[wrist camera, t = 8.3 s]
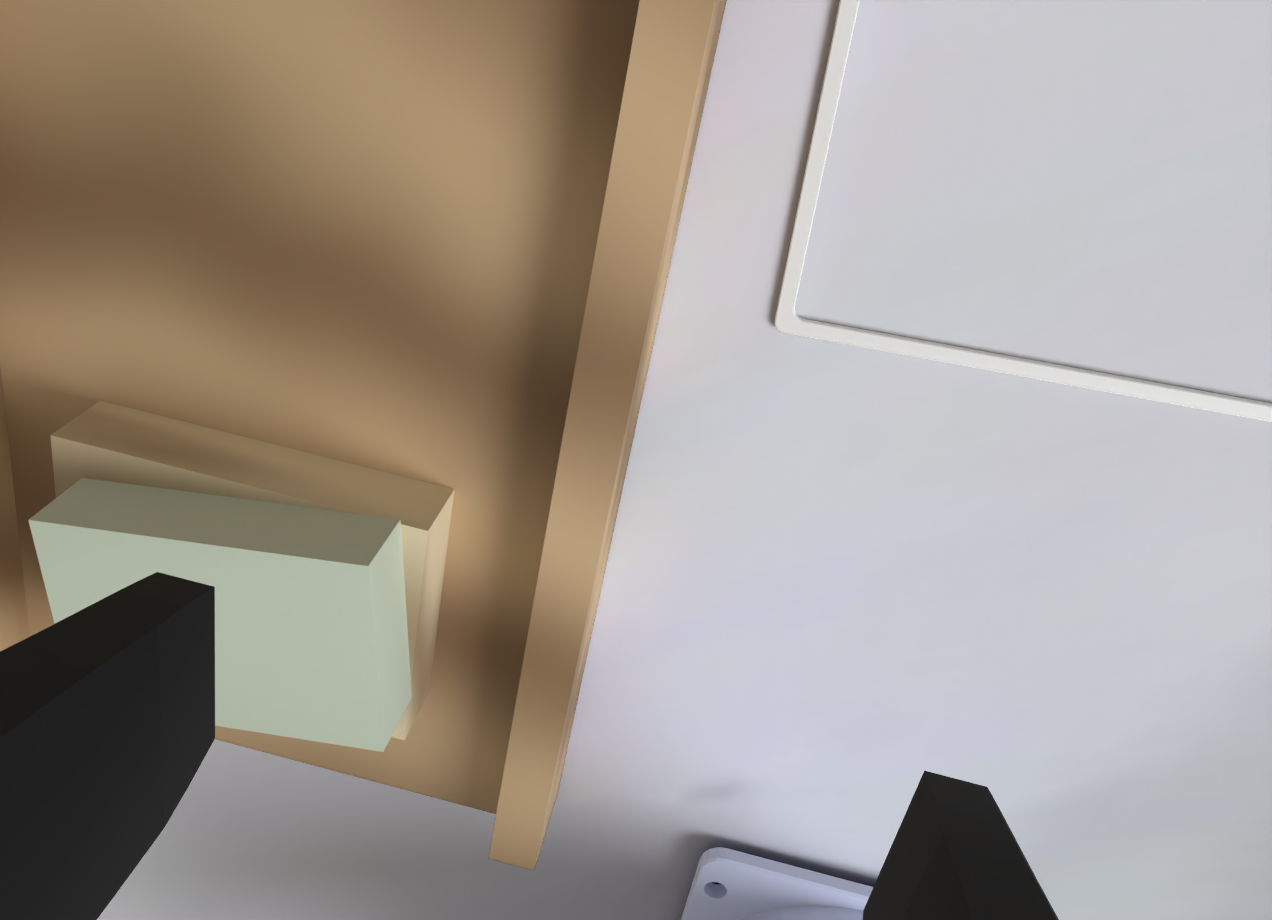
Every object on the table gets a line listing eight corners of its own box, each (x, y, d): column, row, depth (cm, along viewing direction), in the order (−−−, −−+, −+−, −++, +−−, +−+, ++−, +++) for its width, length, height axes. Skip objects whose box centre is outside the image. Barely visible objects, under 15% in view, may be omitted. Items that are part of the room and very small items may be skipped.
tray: (557, 794, 25) (533, 870, 23) (23, 653, 26) (-44, 714, 24) (810, -395, 14) (805, -439, 12) (-119, -583, 15) (-260, -653, 13)
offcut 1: (429, 691, 23) (404, 740, 21) (112, 608, 23) (69, 651, 22) (454, 489, 20) (427, 531, 19) (100, 400, 21) (50, 435, 19)
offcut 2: (411, 697, 21) (383, 751, 20) (120, 653, 22) (74, 703, 20) (400, 519, 19) (367, 566, 18) (81, 477, 20) (28, 519, 18)
